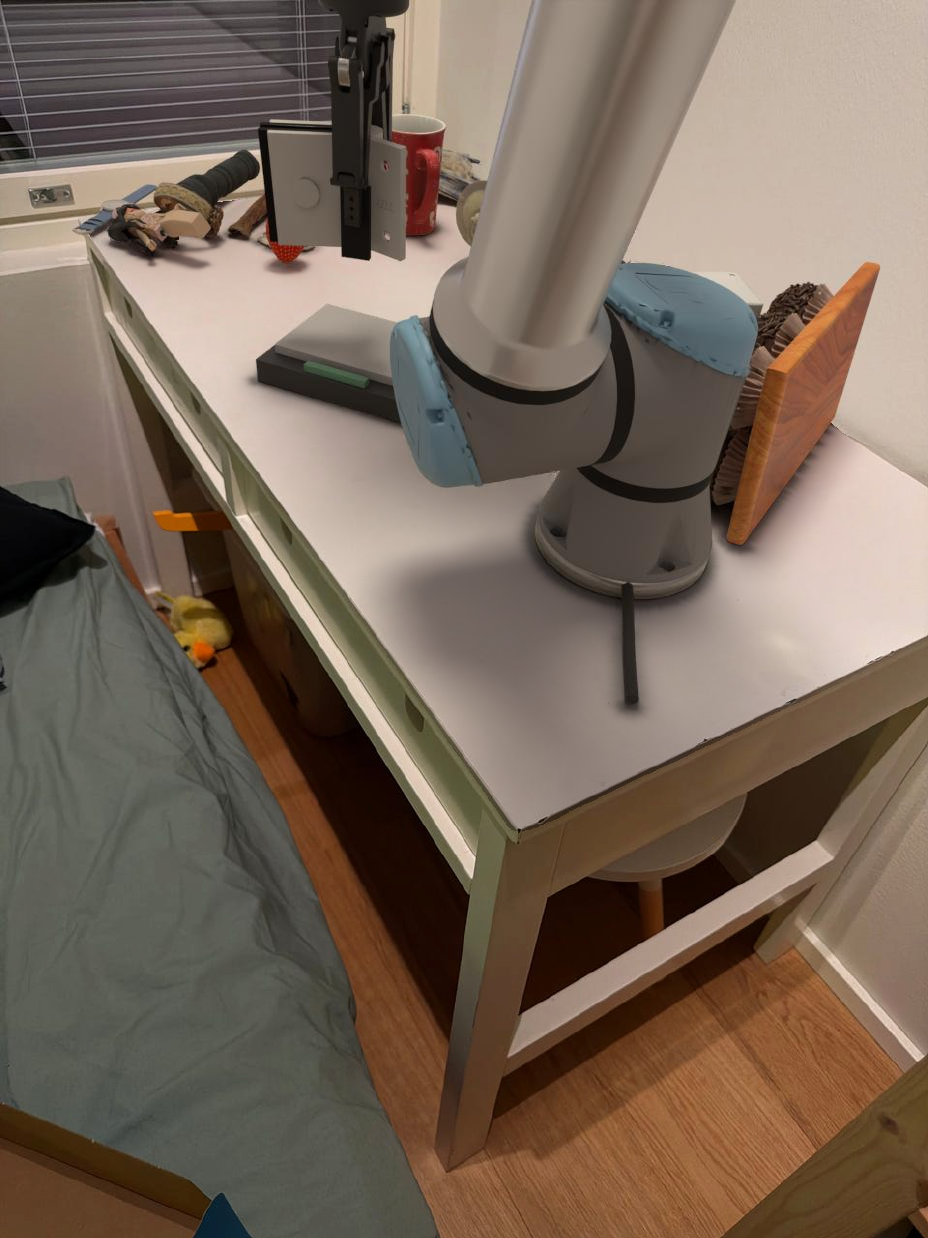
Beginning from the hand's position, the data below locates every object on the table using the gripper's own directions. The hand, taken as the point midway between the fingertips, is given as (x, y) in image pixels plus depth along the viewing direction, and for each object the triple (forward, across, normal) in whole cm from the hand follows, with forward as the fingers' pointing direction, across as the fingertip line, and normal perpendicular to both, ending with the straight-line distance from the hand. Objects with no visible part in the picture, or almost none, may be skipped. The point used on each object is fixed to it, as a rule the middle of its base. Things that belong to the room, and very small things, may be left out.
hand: (363, 244), depth 86 cm
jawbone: (+15, +39, +25) cm, 49 cm away
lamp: (+10, +53, -20) cm, 58 cm away
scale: (+14, 0, 0) cm, 14 cm away
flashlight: (+11, +42, +35) cm, 56 cm away
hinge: (-10, -1, +2) cm, 11 cm away
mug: (+14, +41, +3) cm, 44 cm away
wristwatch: (+14, +32, +43) cm, 55 cm away
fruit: (+14, +24, +16) cm, 32 cm away
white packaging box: (+14, +5, -35) cm, 38 cm away
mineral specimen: (+5, +53, +7) cm, 54 cm away
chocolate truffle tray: (+5, -7, -45) cm, 46 cm away
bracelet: (+11, +27, +31) cm, 42 cm away
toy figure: (+10, +19, +26) cm, 34 cm away
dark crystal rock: (+14, +31, +18) cm, 39 cm away
